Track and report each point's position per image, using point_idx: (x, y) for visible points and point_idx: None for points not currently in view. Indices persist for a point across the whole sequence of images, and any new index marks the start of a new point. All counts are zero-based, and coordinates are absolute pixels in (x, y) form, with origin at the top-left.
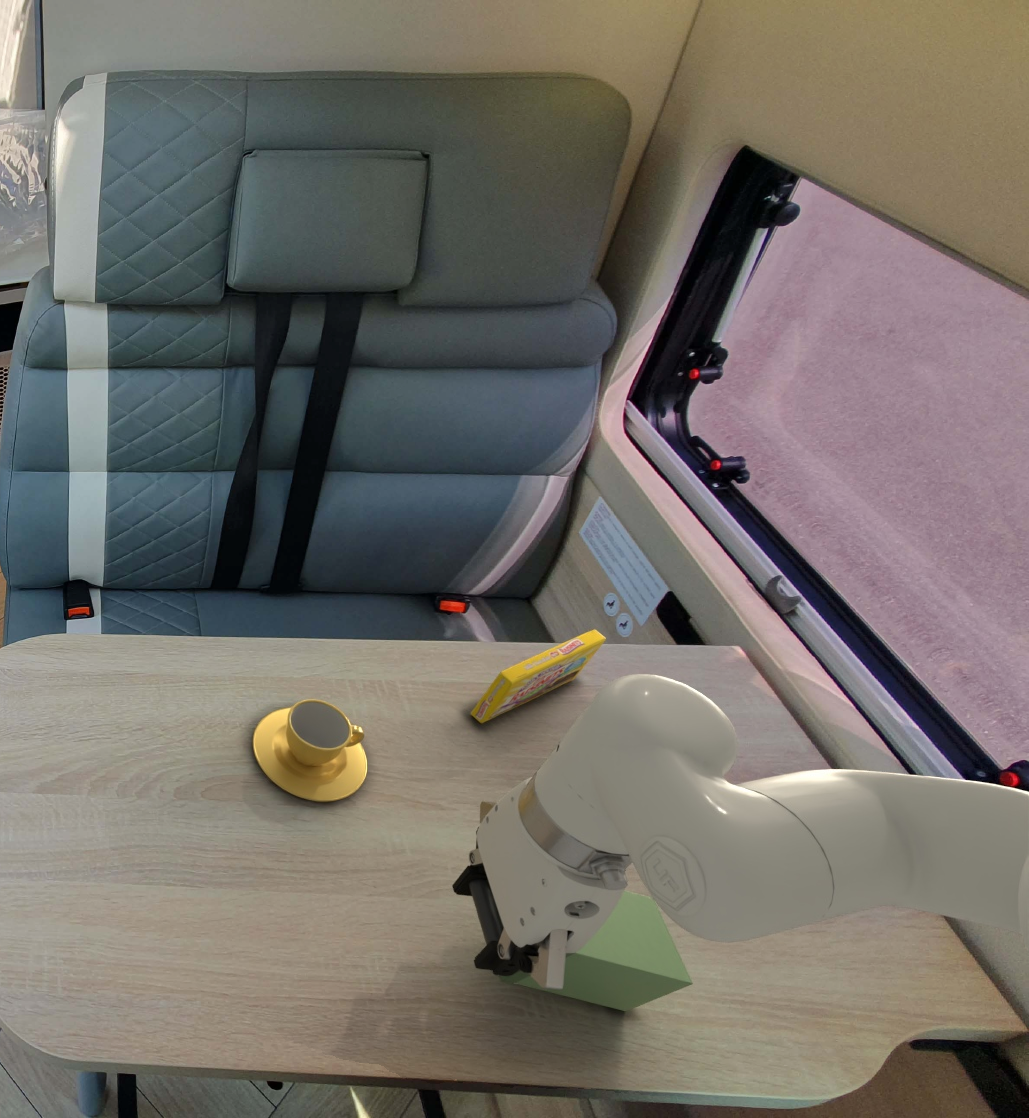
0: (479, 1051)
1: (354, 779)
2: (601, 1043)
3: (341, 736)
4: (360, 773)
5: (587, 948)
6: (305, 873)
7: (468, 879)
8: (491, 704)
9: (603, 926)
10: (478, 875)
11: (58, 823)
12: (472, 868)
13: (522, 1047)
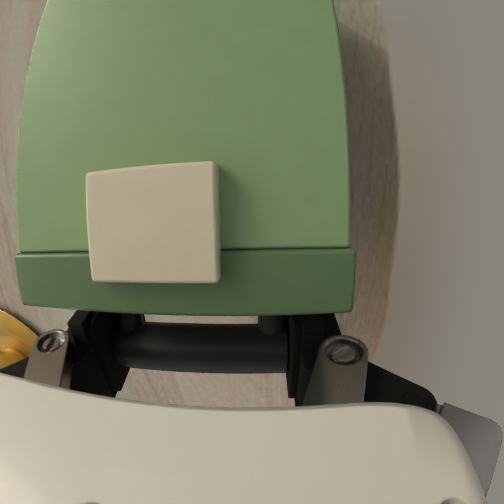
0: (370, 254)
1: (21, 329)
2: (348, 56)
3: None
4: (11, 321)
5: (313, 160)
6: (161, 398)
7: (126, 374)
8: None
9: (184, 41)
10: (114, 381)
11: None
12: (104, 390)
13: (366, 189)
